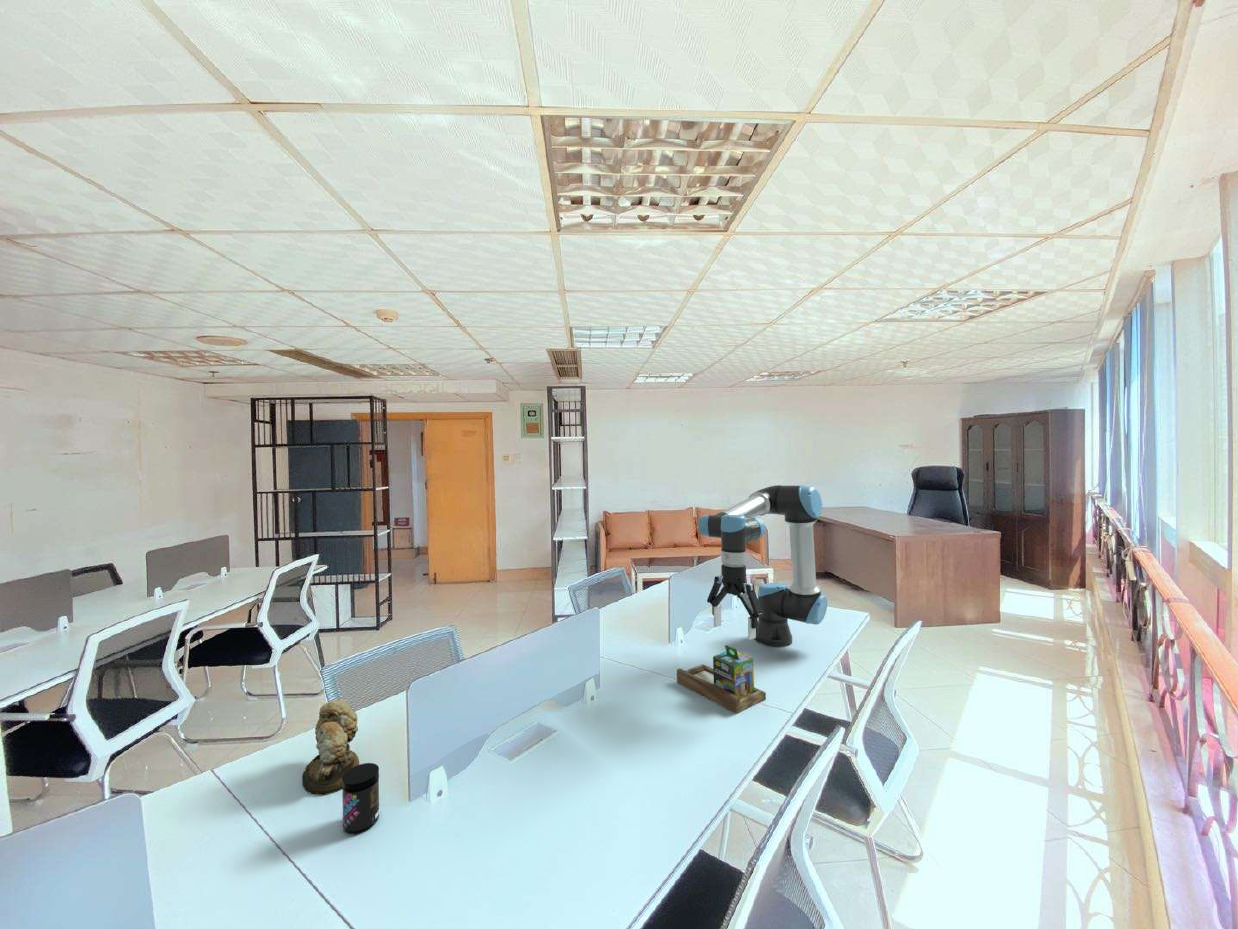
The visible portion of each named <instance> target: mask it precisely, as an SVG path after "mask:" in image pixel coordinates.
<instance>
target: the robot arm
mask: <svg viewBox="0 0 1238 929" xmlns="http://www.w3.org/2000/svg"><path fill="white" fill-rule="evenodd" d="M822 511H823V500H822V497H821V494H820V492H819V491H818V490H817V489H816V487H813V486H806V485H781V484H777V485H771V486H767V487H765V488H762V489H759V490H757V491H754V492H752V493H751V494H749V496H747V498H746V499H743V500H742V501H739V502H738V503H736V504H734V505H733V506H730V507H728V508H725V509H724V510H721V511H719V512H718V513H716V514H703V515H701V516H700V518H699V519H698V521H697V522H698V523H697V529H698V533H699V534H700V535H702V536H703V537H709V538H717V539H721V540H720V541H721V542H720V545H721V549H720V550H721V552H720V553H721V558H720V559H721V563H722V564H721V566H720V568H721V571H720V573H721V574H720V575H717V576H714V578H713V580H714V581H713V585H712V586H711V590H710V592H709V594H708V597H707V600H706V602H707V603H708V604H711V610H712V612H711V614H712V616H713V628H719V627H721V626H722V606H721V602H722V601H723V600H724V598H725V597H726V596H727V595H733V596H737V598H738V599H739V600H740V601H741V603H742V605H743V607H744V608H745V610H746V612H747V614H748V615H749V616H748V617H747V640H753V639H754V641H756V642H757V643H759V644H761V645H763V646H764V645H765V646H769V647H779V648H780V647H786V646H788V647H789V646H790V645H792V644H793V635H792V633H791V628H790V625H789V622H788V620H791V621H796V622H797V621H798V622H801V623H806V624H807V625H808V624H810V625H819V624H821V623H822V622H823V621H824V619H825V616H826V614H827V608H828V598H827V596H826V595H824V594H822V589H821V587H820V586H819V585H817V576H816V575H817V574H816V573H817V572H816V560H815V559H816V556H815V554H816V553H815V540H814V538H815V537H814V524H815V523H816V522H817V521H818V518H819V517H821V515H822V513H823V512H822ZM765 515H779V516H784V522H785V523H786V524H787V525H789V526H788V527H789V528H788V529H789V541H790V543H789V544H790V557H791V558H790V559H791V574H792V578H791V579H792V583H791V585H790V586H788V584H787V583H784V582H768V583H763V584H761V585H759V587H758V588H757V590H758V591H757V593H756V590H755V583H753V582H751V583H746V580H745V579H746V577H747V566H746V564H747V548H746V547H747V546H746V544H747V543H750V542H756V541H758V540H760V539H762V538H763V537H765V535H766V532H767V529H766V528H767V527H766V525H765V523H764V521H763V520H762V519H760V518H759V517H763V516H765ZM758 516H759V517H758ZM722 585H723V586H722ZM721 587H722V588H721Z"/></svg>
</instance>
